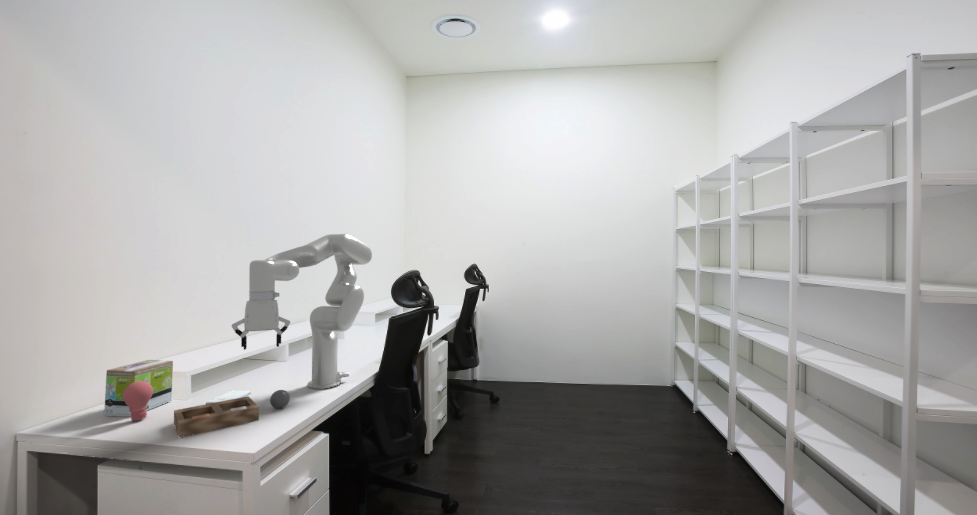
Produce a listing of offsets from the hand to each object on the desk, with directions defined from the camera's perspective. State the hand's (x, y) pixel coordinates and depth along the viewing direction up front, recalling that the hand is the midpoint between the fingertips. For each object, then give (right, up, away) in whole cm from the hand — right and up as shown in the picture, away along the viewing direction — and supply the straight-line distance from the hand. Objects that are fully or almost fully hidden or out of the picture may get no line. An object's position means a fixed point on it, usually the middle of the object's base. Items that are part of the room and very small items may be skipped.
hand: (261, 347), depth 137 cm
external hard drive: (-17, -21, +9) cm, 28 cm away
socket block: (-7, -20, -11) cm, 25 cm away
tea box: (-40, -21, -1) cm, 45 cm away
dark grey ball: (+6, -18, +1) cm, 19 cm away
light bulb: (-32, -20, -11) cm, 40 cm away
